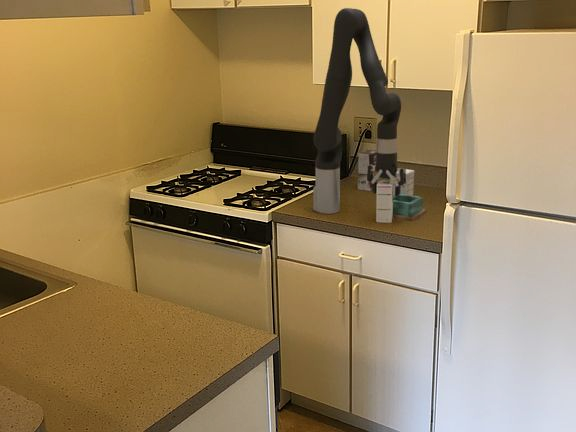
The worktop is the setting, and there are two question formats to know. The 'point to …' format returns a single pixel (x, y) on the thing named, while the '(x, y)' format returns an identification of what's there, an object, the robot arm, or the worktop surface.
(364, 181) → the coffee box
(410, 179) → the supplement box
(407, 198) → the socket collar
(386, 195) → the syrup box
